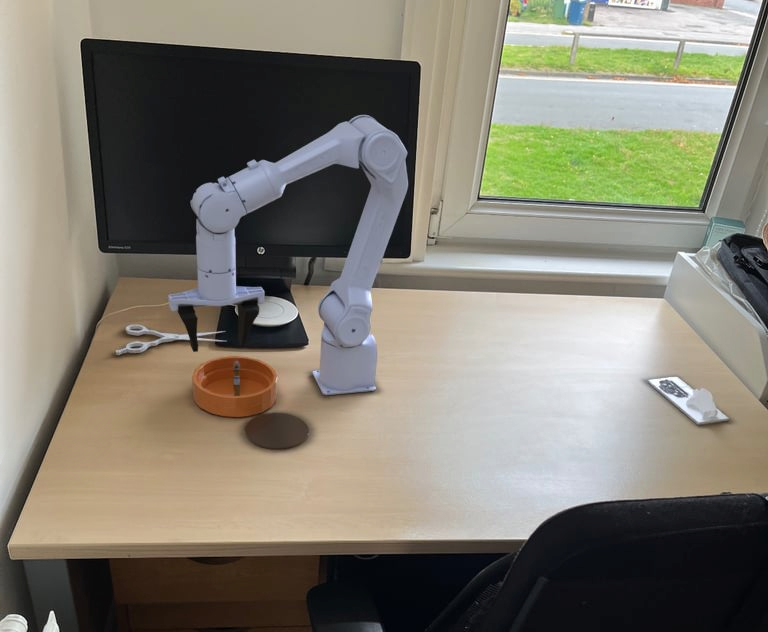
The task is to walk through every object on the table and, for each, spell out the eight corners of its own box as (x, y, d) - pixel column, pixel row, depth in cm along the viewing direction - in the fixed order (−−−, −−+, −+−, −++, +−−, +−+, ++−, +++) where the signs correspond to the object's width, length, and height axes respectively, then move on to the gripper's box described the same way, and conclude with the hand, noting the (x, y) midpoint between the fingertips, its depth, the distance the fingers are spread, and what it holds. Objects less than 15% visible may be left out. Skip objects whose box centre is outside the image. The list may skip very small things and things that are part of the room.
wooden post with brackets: (241, 374, 141) (241, 358, 137) (242, 413, 137) (243, 398, 133) (230, 374, 141) (230, 358, 137) (231, 413, 137) (231, 398, 133)
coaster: (300, 411, 135) (300, 409, 135) (315, 445, 128) (315, 443, 127) (239, 417, 132) (239, 415, 132) (251, 453, 125) (251, 451, 124)
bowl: (267, 373, 145) (267, 353, 143) (284, 414, 134) (285, 393, 132) (188, 380, 141) (187, 359, 138) (199, 422, 130) (199, 401, 128)
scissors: (117, 324, 153) (226, 321, 158) (117, 328, 154) (226, 325, 158) (115, 352, 145) (231, 347, 149) (116, 355, 145) (231, 351, 150)
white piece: (728, 420, 146) (736, 398, 143) (697, 424, 144) (705, 402, 141) (676, 378, 157) (683, 357, 155) (647, 381, 155) (653, 360, 153)
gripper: (256, 253, 130) (255, 330, 138) (162, 259, 125) (167, 339, 132) (268, 270, 125) (267, 350, 132) (171, 278, 119) (176, 360, 127)
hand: (218, 346), depth 132 cm, fingers open, 7 cm apart
